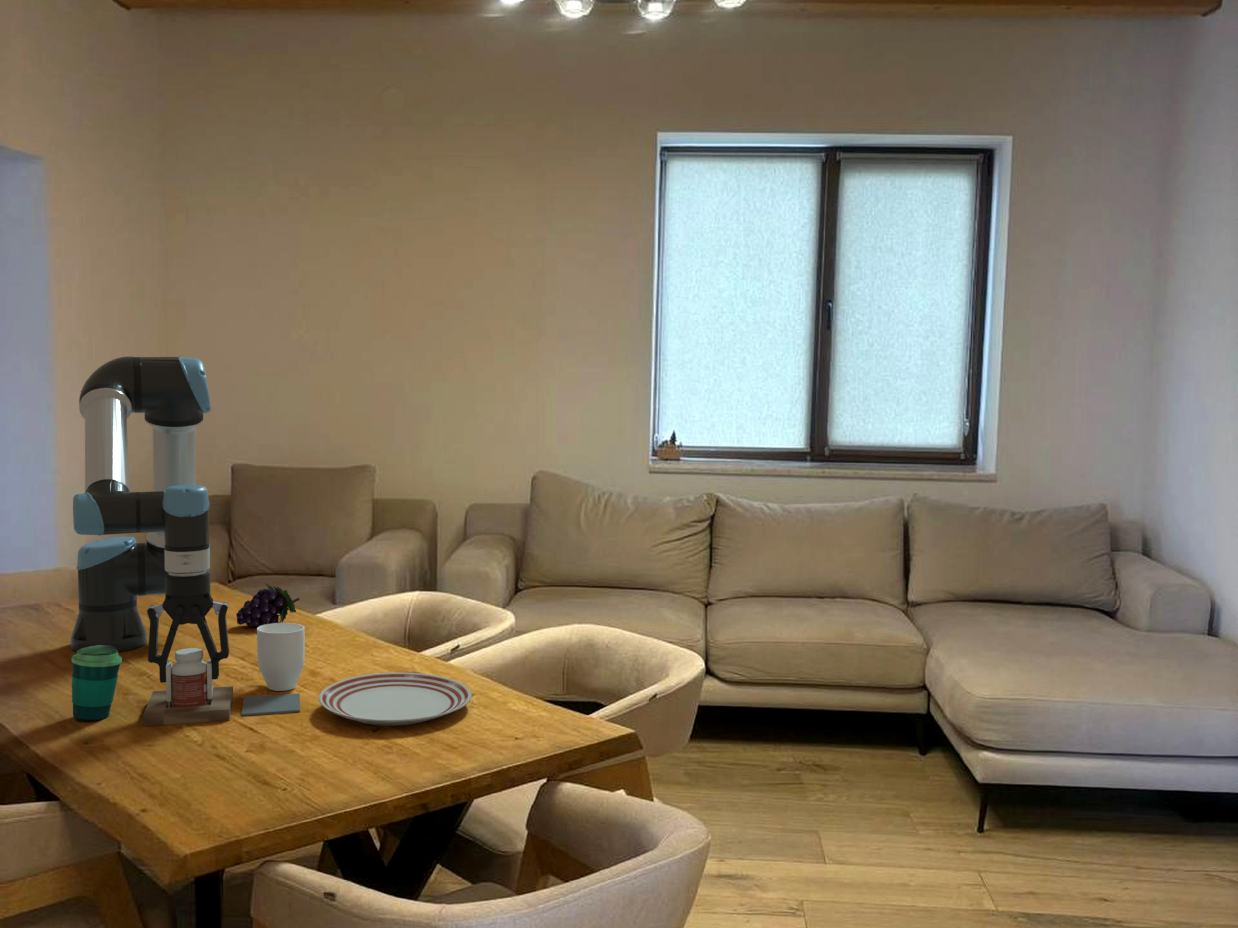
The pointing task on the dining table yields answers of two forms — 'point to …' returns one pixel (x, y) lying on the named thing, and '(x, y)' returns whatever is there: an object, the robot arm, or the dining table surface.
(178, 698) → the pill bottle
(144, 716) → the collar
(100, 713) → the cup
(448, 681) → the dinner plate
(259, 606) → the fruit
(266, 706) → the coaster
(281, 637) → the mug
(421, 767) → the dining table surface
